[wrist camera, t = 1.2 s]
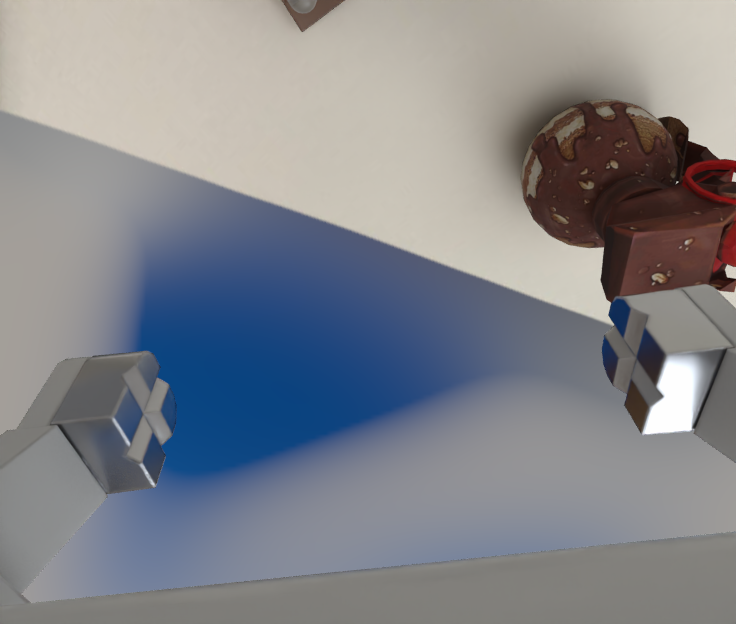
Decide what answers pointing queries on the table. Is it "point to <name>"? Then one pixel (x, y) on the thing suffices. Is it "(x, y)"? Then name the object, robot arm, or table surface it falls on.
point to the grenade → (634, 197)
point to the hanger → (309, 10)
